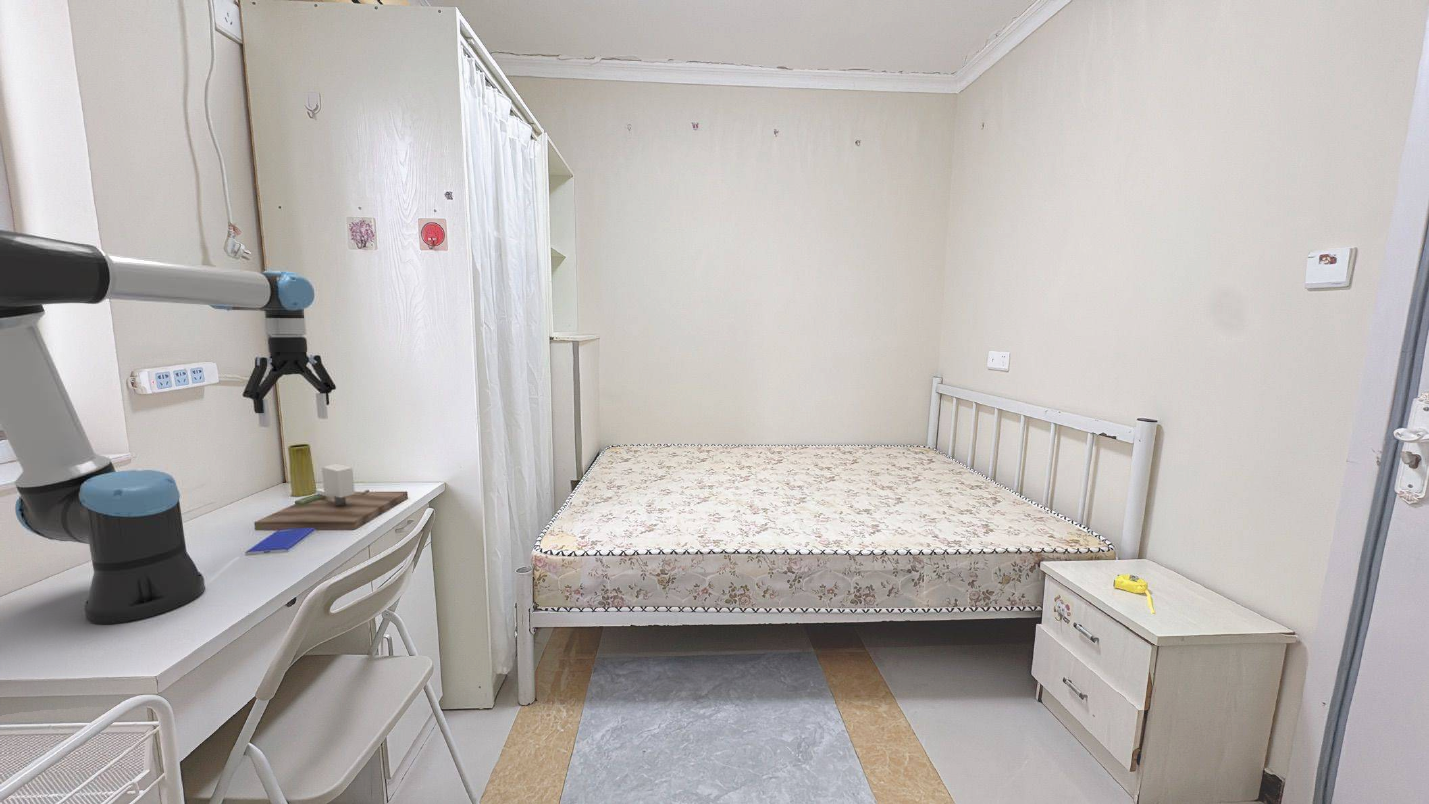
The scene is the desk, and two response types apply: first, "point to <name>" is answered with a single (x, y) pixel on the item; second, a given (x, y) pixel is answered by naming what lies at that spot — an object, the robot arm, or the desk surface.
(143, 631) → the desk surface
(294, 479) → the vase
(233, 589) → the desk surface
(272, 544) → the hard drive
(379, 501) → the brown flat square board
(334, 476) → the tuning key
